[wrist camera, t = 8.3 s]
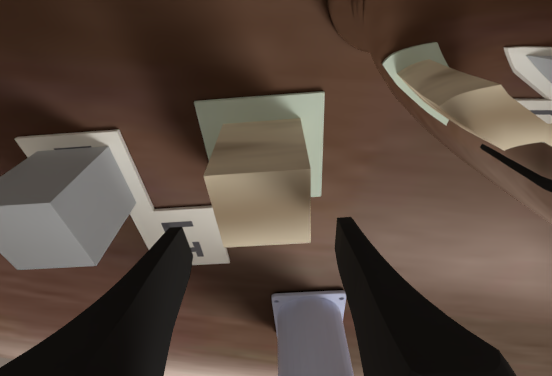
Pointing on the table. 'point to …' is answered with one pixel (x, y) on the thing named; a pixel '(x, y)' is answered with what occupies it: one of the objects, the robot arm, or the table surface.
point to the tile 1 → (94, 140)
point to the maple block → (261, 183)
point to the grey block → (62, 208)
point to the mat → (267, 109)
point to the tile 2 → (186, 231)
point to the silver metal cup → (469, 80)
